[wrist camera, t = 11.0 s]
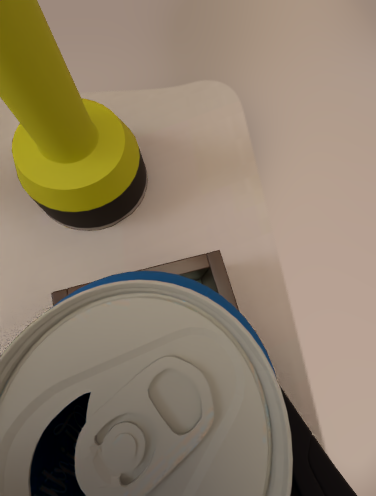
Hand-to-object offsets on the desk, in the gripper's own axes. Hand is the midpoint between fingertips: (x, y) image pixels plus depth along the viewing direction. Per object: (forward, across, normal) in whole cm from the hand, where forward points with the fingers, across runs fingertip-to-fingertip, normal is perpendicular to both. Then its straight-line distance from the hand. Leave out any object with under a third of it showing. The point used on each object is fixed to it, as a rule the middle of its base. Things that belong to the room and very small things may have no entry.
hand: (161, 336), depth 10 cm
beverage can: (+4, 0, +6) cm, 7 cm away
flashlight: (+13, +8, -2) cm, 15 cm away
